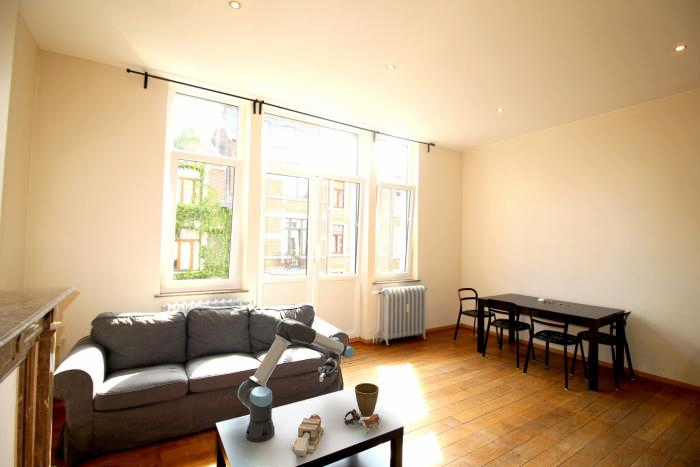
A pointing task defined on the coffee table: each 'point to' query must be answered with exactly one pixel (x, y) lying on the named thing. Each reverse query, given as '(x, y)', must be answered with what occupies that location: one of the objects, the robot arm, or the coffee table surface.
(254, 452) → the coffee table surface
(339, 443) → the coffee table surface
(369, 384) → the plant pot
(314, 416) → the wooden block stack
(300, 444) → the block
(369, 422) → the bull figurine
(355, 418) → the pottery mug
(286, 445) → the coffee table surface
